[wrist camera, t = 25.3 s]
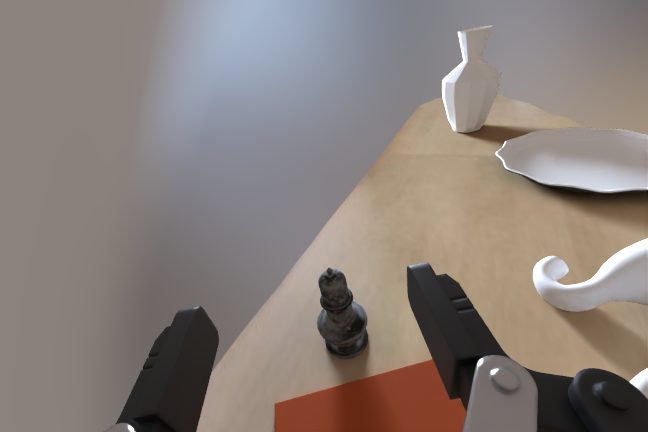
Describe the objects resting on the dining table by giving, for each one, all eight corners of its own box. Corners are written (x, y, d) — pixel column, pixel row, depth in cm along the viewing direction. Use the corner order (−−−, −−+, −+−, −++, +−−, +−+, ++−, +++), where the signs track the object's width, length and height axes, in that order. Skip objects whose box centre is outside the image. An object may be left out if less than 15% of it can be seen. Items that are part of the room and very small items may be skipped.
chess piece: (323, 319, 37) (302, 252, 31) (367, 315, 36) (355, 245, 30) (322, 363, 32) (297, 294, 26) (373, 359, 32) (360, 287, 25)
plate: (705, 222, 38) (715, 208, 37) (476, 184, 57) (477, 173, 56) (692, 143, 54) (699, 131, 53) (516, 133, 73) (518, 124, 72)
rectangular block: (437, 359, 30) (437, 357, 30) (478, 435, 24) (478, 434, 24) (275, 405, 29) (274, 403, 29) (277, 494, 24) (275, 493, 23)
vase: (494, 134, 75) (510, 24, 62) (438, 137, 81) (441, 37, 68) (492, 118, 85) (506, 20, 72) (442, 121, 92) (446, 32, 78)
